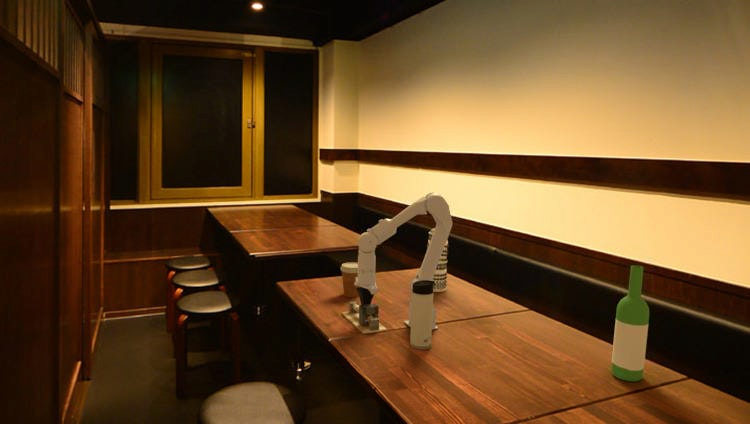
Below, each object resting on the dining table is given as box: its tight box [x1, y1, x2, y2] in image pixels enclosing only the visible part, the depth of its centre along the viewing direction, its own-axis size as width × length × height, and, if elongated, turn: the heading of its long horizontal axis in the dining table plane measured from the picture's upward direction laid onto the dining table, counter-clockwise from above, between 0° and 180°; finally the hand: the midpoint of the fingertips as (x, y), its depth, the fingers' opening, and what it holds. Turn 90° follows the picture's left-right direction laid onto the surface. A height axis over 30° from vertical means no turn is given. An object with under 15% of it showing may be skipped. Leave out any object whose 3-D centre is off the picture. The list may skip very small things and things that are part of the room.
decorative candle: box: [426, 227, 450, 293], centre depth 217 cm, size 9×9×25 cm
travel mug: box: [409, 280, 435, 351], centre depth 157 cm, size 6×7×20 cm
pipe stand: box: [341, 300, 387, 334], centre depth 177 cm, size 20×8×4 cm, turn 23°
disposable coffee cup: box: [340, 262, 360, 298], centre depth 207 cm, size 10×10×12 cm
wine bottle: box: [610, 264, 650, 383], centre depth 139 cm, size 8×8×30 cm
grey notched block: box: [358, 303, 380, 326], centre depth 173 cm, size 3×6×6 cm, turn 114°
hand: (365, 309), depth 175 cm, fingers closed
